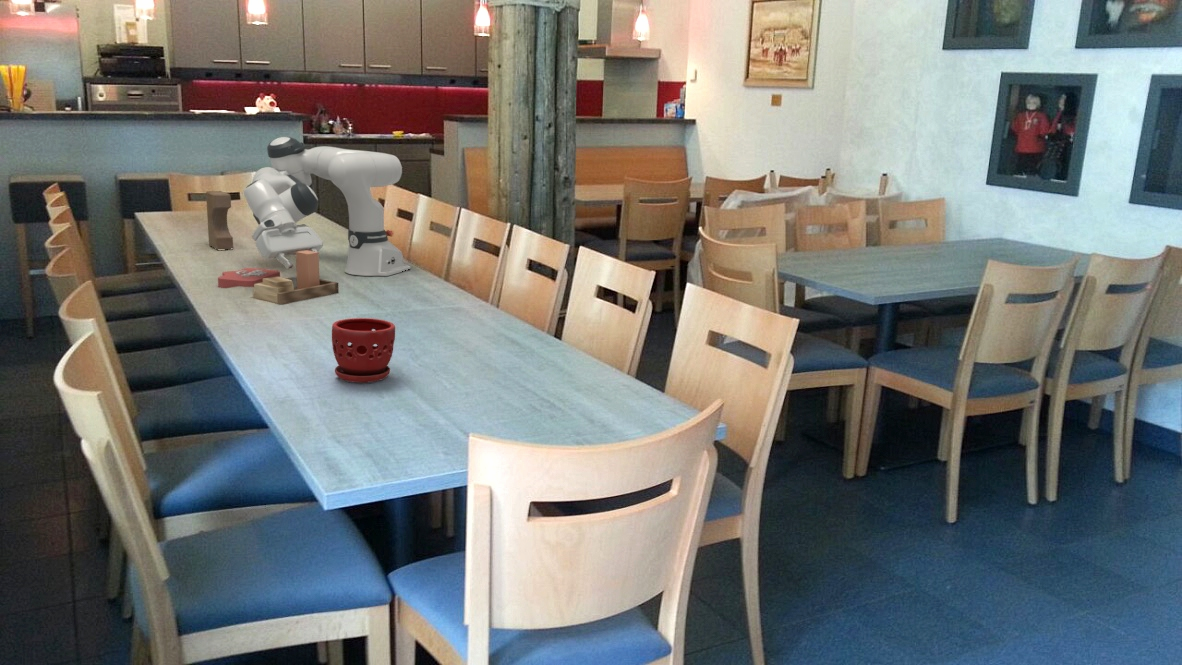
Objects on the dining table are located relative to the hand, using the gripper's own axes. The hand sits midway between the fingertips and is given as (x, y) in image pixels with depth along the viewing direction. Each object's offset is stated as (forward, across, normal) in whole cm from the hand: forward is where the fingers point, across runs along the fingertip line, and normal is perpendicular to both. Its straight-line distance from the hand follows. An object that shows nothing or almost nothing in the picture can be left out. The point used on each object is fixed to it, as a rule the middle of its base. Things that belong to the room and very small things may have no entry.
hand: (303, 265), depth 271 cm
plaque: (-11, 0, -26) cm, 28 cm away
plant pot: (+55, +43, +43) cm, 82 cm away
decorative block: (-50, -31, -64) cm, 87 cm away
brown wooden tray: (+7, +4, -6) cm, 10 cm away
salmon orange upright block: (+7, 0, -5) cm, 8 cm away
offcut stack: (+6, +10, -5) cm, 13 cm away
